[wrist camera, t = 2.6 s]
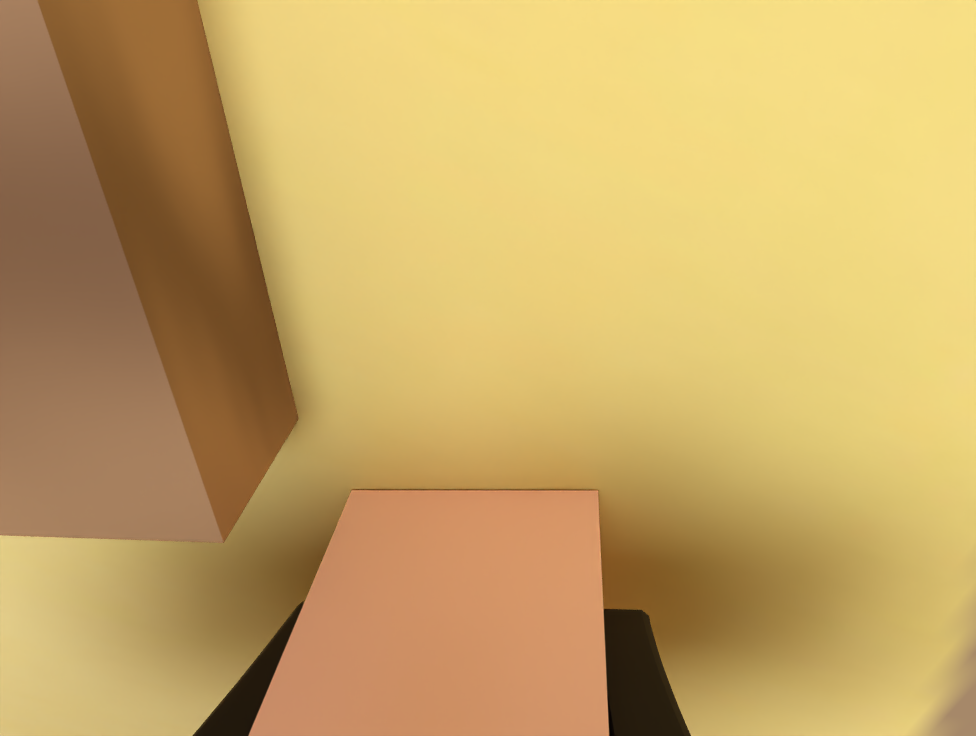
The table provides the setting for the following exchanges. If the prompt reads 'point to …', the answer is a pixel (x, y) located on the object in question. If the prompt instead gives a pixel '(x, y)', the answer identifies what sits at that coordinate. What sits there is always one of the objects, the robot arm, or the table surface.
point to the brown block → (127, 282)
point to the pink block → (450, 620)
